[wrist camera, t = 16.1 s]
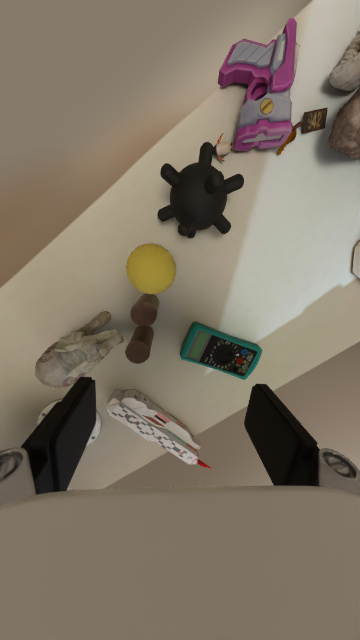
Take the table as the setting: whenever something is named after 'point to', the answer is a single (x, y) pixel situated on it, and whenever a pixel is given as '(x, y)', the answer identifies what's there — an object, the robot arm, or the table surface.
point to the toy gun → (263, 88)
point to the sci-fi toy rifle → (154, 424)
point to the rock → (347, 128)
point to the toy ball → (198, 195)
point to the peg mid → (145, 310)
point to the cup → (356, 261)
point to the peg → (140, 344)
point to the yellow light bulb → (151, 269)
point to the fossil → (348, 68)
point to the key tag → (308, 124)
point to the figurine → (76, 353)
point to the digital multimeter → (220, 351)
